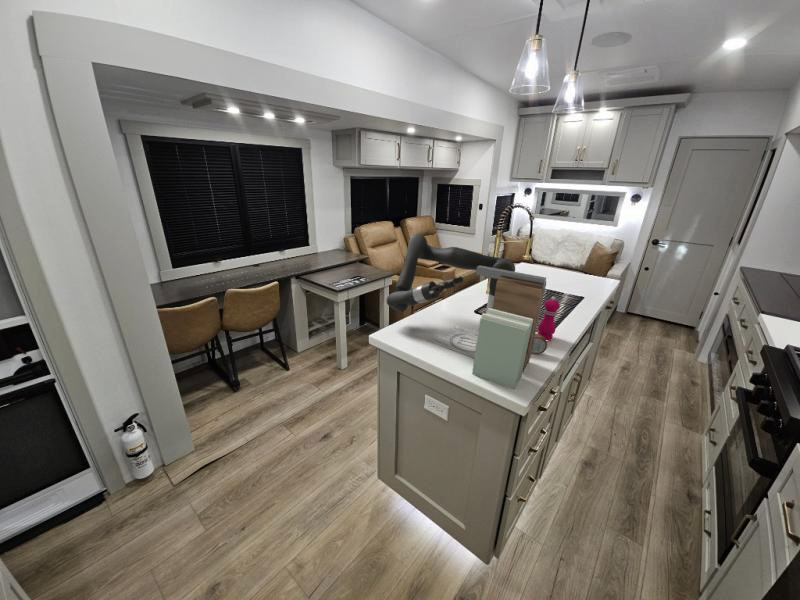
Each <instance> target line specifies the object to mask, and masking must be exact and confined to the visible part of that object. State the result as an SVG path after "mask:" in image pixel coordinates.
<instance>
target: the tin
mask: <svg viewBox="0 0 800 600" xmlns="http://www.w3.org/2000/svg"><path fill="white" fill-rule="evenodd" d="M547 348H548V341H546V339H545V337H543V336H542V335H539V334H538V333H537V334H536V333H535V337H534V342H533V346H532V351H531V354H532V355H542V354H543V353H545V351H547Z"/></svg>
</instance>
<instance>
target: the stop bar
mask: <svg viewBox="0 0 800 600" xmlns="http://www.w3.org/2000/svg"><path fill="white" fill-rule="evenodd" d="M475 275H476V276H481V277H486V278H489V279H490V278H495V279H498V277H503V278H508V279H513V280H519V281H524V282H529V283H534V284H539V285H543V287H544V286H545V282H546V283H547V277H544V276H540V275H534V274H529V273H523V272H519V271H517V272H516V271H515V272H513V271H507V270H502V269H497V268H491V267H486V266H478V267H477V270H475Z"/></svg>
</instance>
